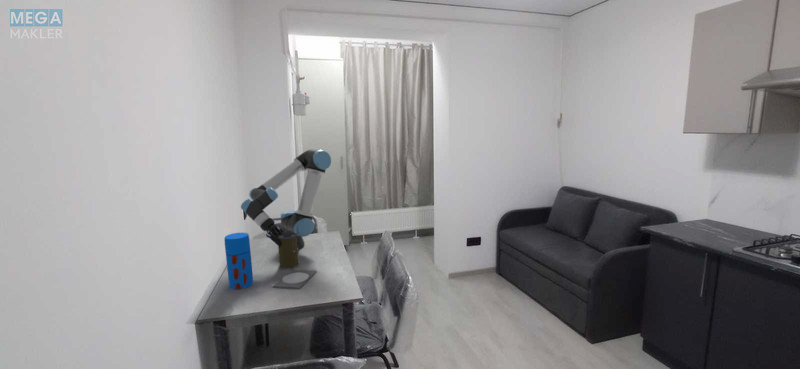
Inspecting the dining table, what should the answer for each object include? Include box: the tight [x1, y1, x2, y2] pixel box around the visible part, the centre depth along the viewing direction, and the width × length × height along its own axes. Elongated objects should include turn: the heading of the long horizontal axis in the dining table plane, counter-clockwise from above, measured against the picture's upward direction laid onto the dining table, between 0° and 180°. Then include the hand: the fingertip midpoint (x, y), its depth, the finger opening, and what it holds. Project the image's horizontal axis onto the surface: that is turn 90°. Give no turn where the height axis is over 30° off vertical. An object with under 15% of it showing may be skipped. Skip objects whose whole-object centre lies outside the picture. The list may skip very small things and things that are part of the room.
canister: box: [277, 230, 300, 270], centre depth 195 cm, size 11×10×20 cm
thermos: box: [224, 232, 254, 290], centre depth 171 cm, size 11×11×25 cm
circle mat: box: [272, 268, 317, 290], centre depth 178 cm, size 20×14×1 cm
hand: (294, 251), depth 194 cm, fingers open, 3 cm apart
